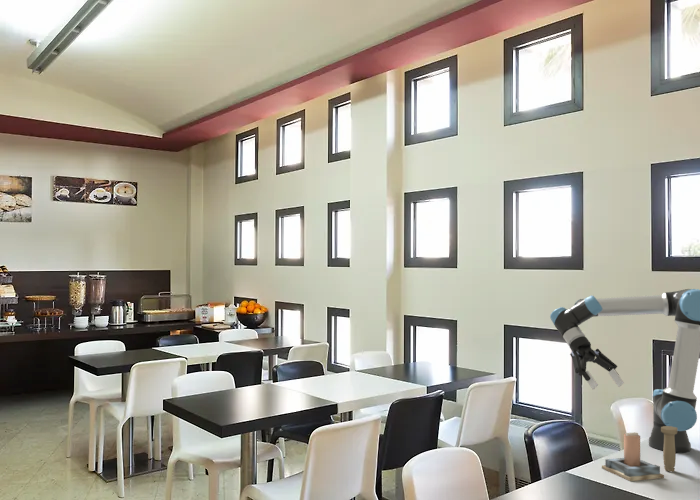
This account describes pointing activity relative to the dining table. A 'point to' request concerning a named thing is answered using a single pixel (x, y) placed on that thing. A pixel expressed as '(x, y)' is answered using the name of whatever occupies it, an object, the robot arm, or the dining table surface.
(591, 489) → the dining table surface
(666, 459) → the handle
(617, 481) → the dining table surface
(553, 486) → the dining table surface
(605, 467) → the square frame tray
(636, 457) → the copper orange rectangular block
